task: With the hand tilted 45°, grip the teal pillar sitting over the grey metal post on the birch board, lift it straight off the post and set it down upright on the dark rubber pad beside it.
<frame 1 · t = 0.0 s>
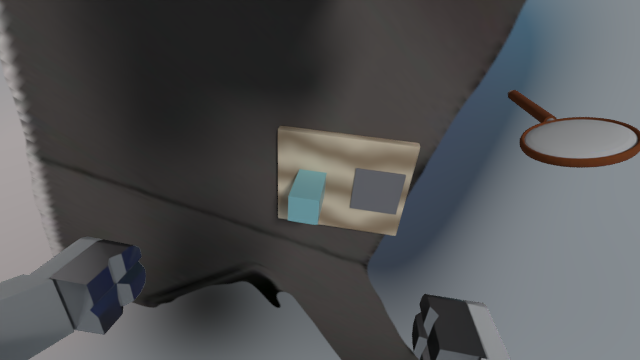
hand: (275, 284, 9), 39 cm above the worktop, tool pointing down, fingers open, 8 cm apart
magnifying glass: (509, 92, 41), on the worktop
teal pillar: (312, 182, 51), point 1 cm above the worktop, touching post board
pad: (376, 191, 51), resting on post board
post board: (341, 181, 52), on the worktop
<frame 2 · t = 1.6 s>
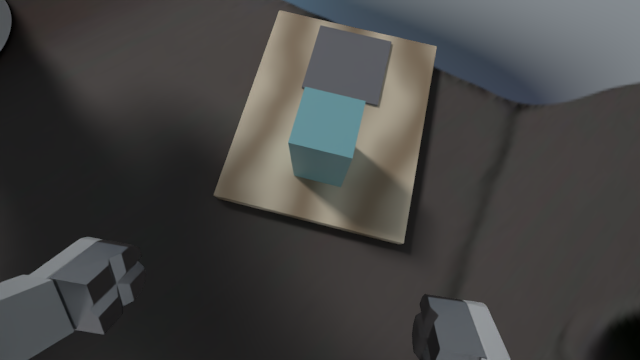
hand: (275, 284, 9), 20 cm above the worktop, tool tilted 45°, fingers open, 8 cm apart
teal pillar: (323, 159, 29), point 1 cm above the worktop, touching post board
pad: (347, 65, 32), resting on post board
post board: (333, 121, 32), on the worktop
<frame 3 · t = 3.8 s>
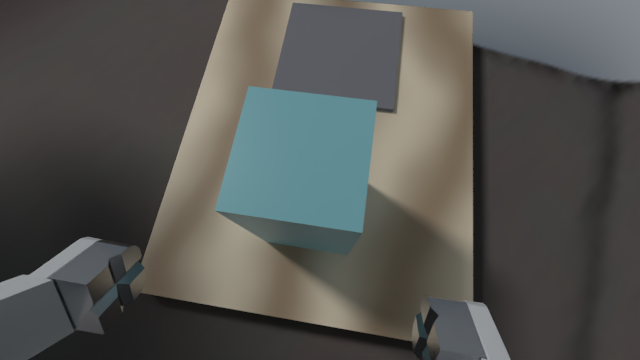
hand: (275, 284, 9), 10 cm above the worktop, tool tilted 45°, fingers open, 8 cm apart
teal pillar: (313, 208, 17), point 1 cm above the worktop, touching post board
pad: (339, 54, 21), resting on post board
post board: (326, 142, 20), on the worktop
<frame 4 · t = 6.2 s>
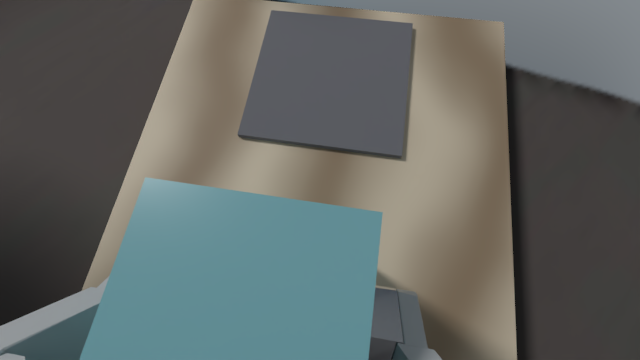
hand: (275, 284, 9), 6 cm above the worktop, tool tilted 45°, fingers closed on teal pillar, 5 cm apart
teal pillar: (291, 299, 13), point 1 cm above the worktop, touching gripper, post board
pad: (330, 79, 16), resting on post board
post board: (313, 194, 15), on the worktop
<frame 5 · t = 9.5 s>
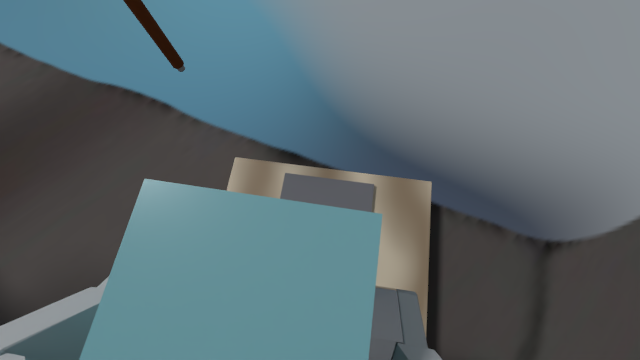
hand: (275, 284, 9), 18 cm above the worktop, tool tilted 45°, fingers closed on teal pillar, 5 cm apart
magnifying glass: (183, 71, 34), on the worktop
teal pillar: (290, 300, 13), point 14 cm above the worktop, touching gripper
pad: (322, 223, 26), resting on post board
post board: (312, 296, 25), on the worktop
when the fingers open (7 cm above the worktop, at t = 12.9 s): teal pillar stays where it is, resting on pad.
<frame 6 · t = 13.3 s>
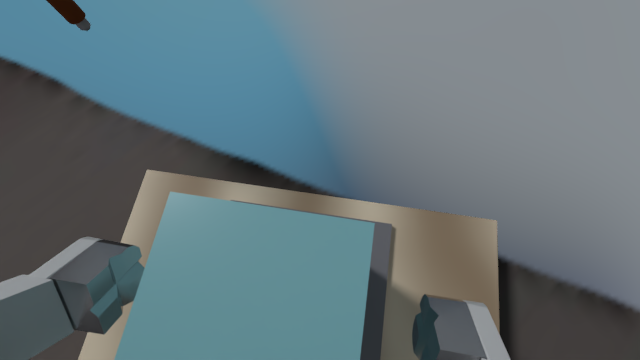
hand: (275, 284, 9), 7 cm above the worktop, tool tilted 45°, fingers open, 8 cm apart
magnifying glass: (90, 31, 22), on the worktop
teal pillar: (293, 298, 13), point 2 cm above the worktop, touching pad
pad: (295, 298, 14), resting on post board
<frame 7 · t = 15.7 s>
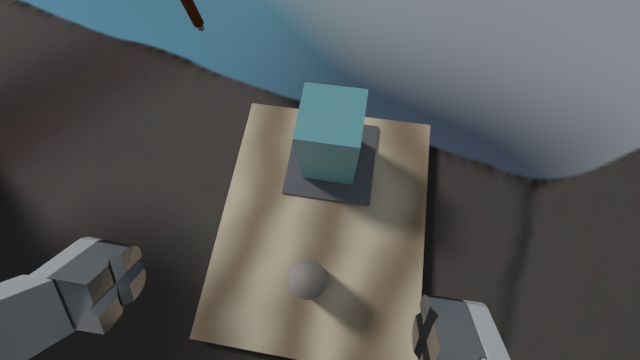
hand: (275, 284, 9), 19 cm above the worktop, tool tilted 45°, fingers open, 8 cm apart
magnifying glass: (202, 31, 36), on the worktop
teal pillar: (331, 158, 28), point 2 cm above the worktop, touching pad
pad: (331, 159, 29), resting on post board
post board: (322, 224, 28), on the worktop
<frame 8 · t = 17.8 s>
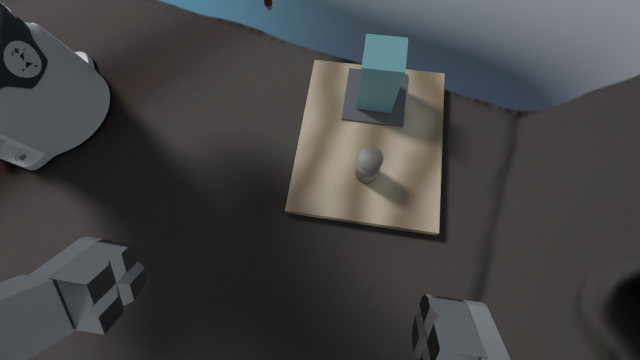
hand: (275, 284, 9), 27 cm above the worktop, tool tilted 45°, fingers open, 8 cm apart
magnifying glass: (269, 10, 48), on the worktop
teal pillar: (374, 95, 40), point 2 cm above the worktop, touching pad
pad: (374, 97, 40), resting on post board
post board: (368, 142, 40), on the worktop
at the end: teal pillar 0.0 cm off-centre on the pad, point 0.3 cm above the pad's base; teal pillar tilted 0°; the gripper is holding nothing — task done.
